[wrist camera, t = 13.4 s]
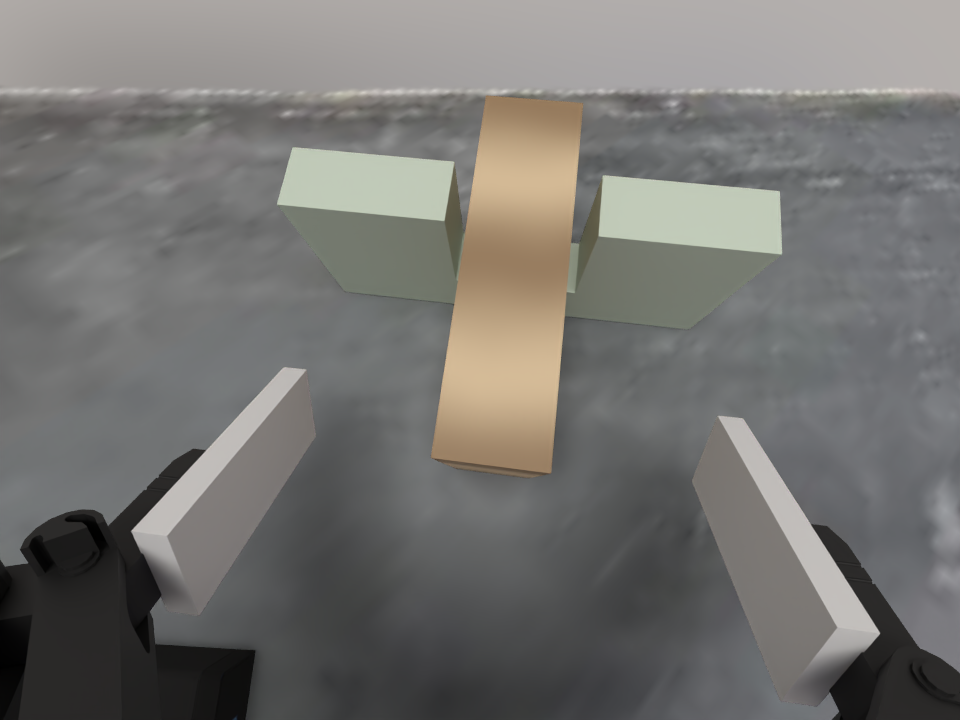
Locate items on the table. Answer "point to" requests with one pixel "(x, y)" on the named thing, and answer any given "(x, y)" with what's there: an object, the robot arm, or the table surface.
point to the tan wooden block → (511, 292)
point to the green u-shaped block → (593, 262)
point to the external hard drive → (203, 682)
